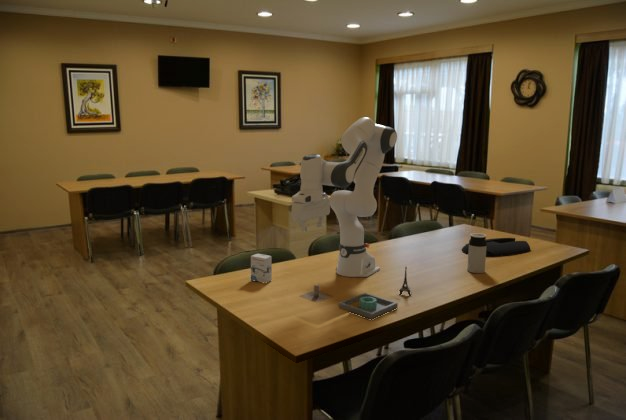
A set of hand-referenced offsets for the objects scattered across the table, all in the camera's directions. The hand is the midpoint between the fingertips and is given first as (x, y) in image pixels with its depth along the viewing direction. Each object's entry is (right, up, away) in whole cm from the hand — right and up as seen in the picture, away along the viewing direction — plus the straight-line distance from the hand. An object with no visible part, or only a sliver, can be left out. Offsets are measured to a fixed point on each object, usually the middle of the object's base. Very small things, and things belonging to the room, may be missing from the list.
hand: (311, 229), depth 199 cm
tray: (+22, -30, -10) cm, 39 cm away
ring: (+22, -30, -10) cm, 38 cm away
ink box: (-23, -25, +23) cm, 41 cm away
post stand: (+2, -28, +1) cm, 28 cm away
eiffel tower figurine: (+39, -28, +7) cm, 49 cm away
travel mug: (+79, -22, +37) cm, 90 cm away
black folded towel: (+102, -15, +76) cm, 128 cm away
